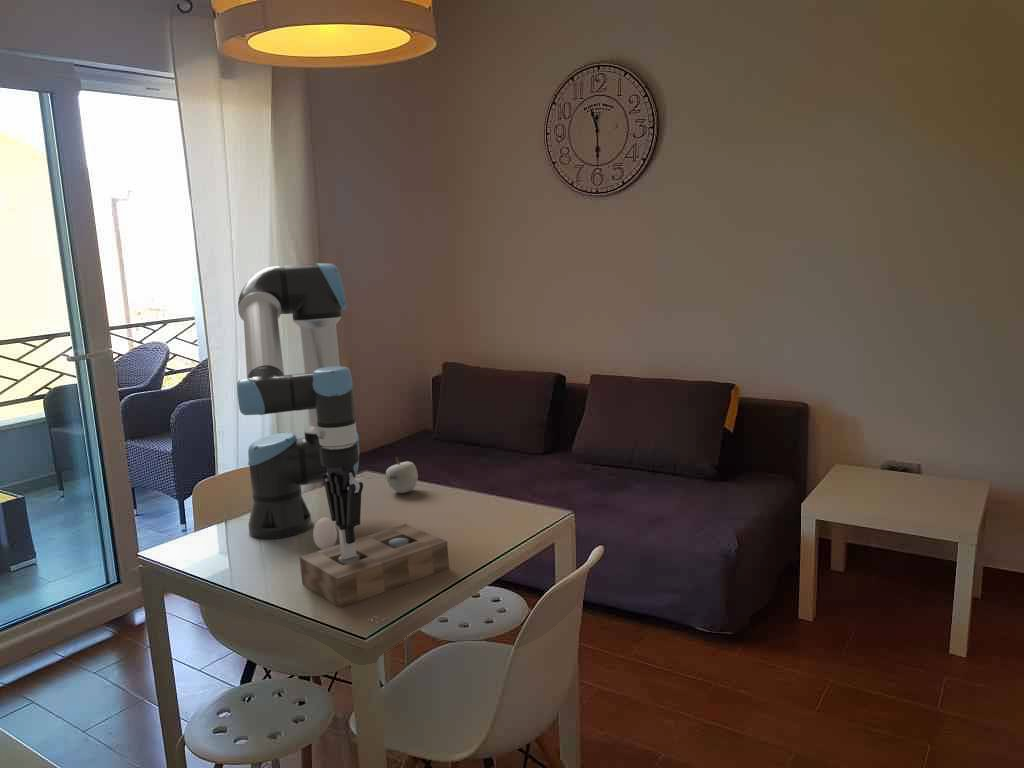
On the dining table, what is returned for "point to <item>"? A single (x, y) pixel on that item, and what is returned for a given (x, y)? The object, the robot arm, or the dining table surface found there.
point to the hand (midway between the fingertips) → (348, 556)
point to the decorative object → (402, 476)
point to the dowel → (348, 560)
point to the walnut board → (374, 565)
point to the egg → (325, 533)
